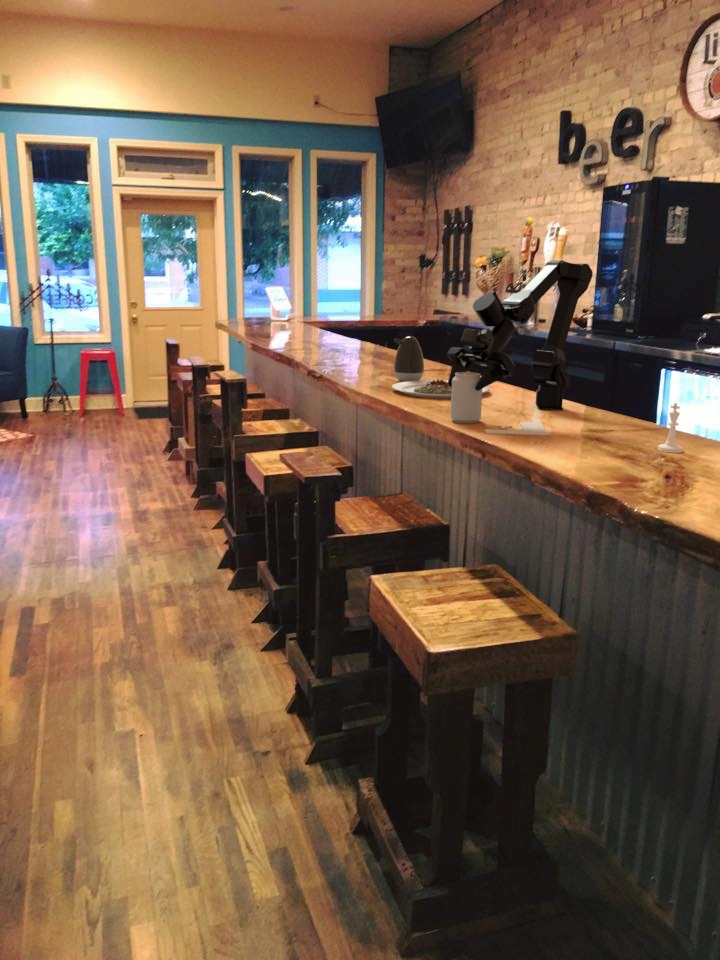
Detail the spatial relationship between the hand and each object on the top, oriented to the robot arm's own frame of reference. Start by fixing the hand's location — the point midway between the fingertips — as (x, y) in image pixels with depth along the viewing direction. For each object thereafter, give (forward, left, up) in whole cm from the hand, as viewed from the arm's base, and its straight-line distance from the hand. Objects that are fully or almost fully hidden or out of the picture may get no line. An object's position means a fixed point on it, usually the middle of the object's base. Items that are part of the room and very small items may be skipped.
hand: (462, 387), depth 189 cm
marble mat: (-12, +7, -9) cm, 16 cm away
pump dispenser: (+17, -69, -9) cm, 72 cm away
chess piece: (-43, +25, -9) cm, 51 cm away
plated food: (+6, -48, -9) cm, 50 cm away
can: (-1, -1, -9) cm, 9 cm away
